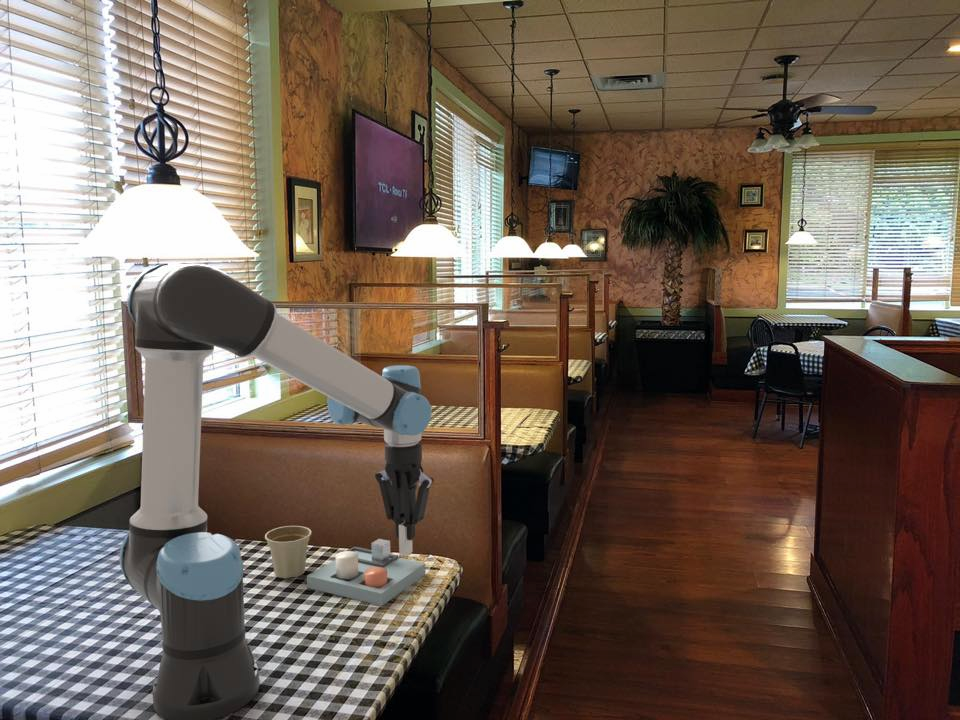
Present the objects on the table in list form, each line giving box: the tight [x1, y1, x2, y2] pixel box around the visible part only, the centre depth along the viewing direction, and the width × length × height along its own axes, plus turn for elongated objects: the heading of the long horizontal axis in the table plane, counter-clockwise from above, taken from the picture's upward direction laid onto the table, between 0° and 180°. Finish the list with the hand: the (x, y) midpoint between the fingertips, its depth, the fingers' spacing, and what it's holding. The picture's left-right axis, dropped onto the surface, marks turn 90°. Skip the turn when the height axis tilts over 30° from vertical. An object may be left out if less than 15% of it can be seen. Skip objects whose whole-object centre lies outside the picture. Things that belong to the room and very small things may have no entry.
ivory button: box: [335, 550, 358, 579], centre depth 149 cm, size 4×4×4 cm
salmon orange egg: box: [365, 567, 387, 589], centre depth 146 cm, size 4×4×4 cm
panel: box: [306, 546, 426, 607], centre depth 152 cm, size 16×18×3 cm
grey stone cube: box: [370, 538, 391, 564], centre depth 156 cm, size 3×3×4 cm
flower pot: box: [264, 525, 312, 580], centre depth 156 cm, size 9×9×9 cm
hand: (406, 553), depth 154 cm, fingers closed
